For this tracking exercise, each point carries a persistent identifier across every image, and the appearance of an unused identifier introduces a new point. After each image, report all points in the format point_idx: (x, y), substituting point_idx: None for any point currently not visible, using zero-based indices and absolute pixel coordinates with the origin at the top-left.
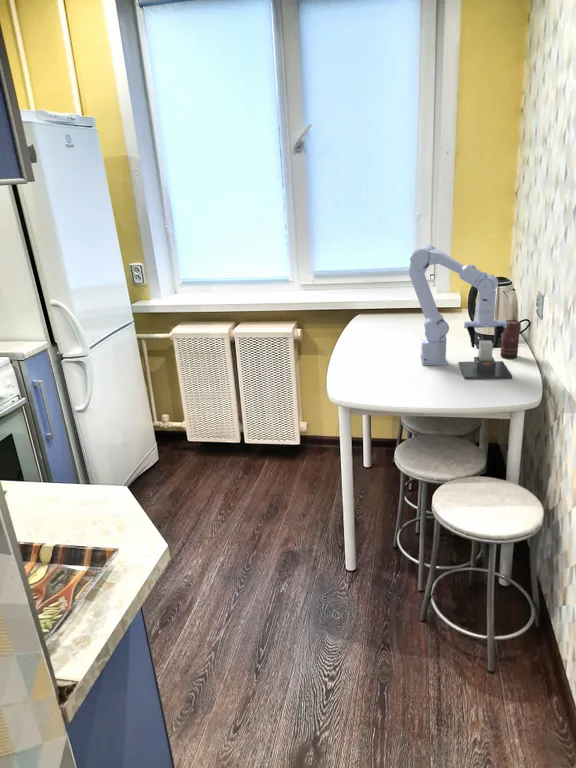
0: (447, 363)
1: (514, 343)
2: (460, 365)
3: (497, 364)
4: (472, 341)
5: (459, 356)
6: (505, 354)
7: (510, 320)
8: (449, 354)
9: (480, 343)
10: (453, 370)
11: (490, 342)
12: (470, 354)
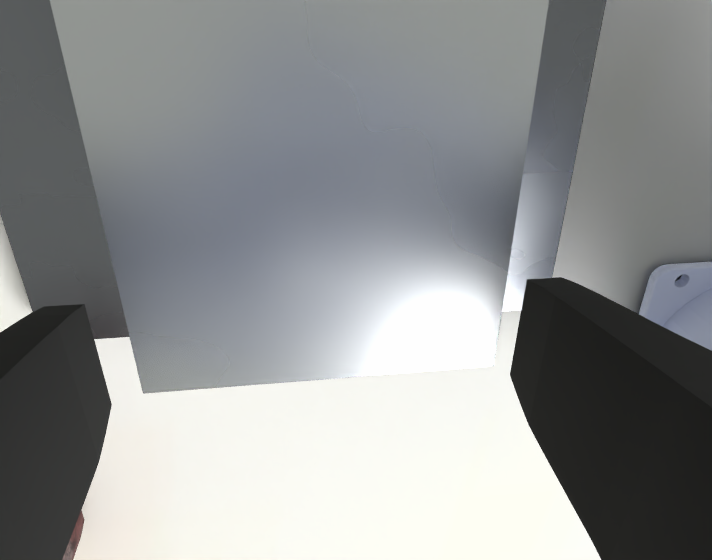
0: (659, 277)
1: None
2: (564, 188)
3: (104, 231)
4: (669, 335)
5: (464, 480)
6: None
7: None
8: (533, 513)
9: (519, 132)
10: (653, 94)
11: (155, 188)
12: (359, 526)
